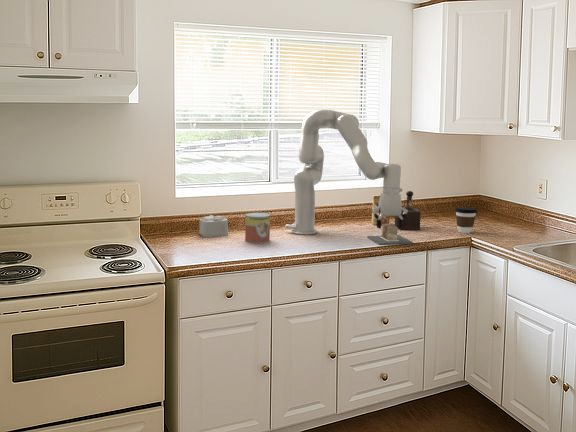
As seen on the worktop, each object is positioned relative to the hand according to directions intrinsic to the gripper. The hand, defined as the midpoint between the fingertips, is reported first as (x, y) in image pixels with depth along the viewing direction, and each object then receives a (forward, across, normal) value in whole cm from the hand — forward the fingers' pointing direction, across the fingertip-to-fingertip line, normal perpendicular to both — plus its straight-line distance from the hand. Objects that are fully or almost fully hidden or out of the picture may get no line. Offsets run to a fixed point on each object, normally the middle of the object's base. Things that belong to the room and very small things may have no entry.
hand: (388, 227), depth 300 cm
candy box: (+6, -12, -40) cm, 42 cm away
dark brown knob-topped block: (+6, -22, -30) cm, 37 cm away
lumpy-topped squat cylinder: (+8, +77, -27) cm, 82 cm away
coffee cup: (+6, -46, -13) cm, 48 cm away
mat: (+6, 0, 0) cm, 6 cm away
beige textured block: (+5, 0, 0) cm, 5 cm away
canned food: (+7, +60, -10) cm, 61 cm away
